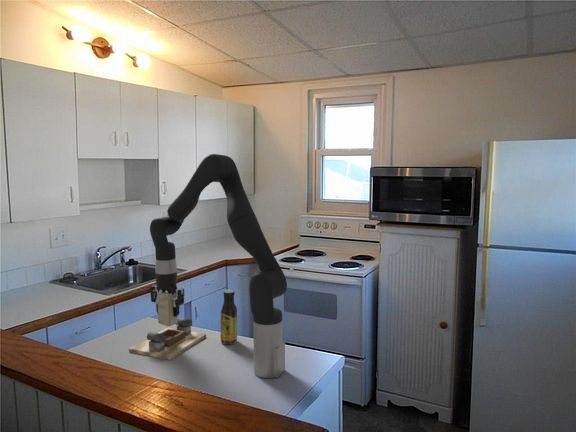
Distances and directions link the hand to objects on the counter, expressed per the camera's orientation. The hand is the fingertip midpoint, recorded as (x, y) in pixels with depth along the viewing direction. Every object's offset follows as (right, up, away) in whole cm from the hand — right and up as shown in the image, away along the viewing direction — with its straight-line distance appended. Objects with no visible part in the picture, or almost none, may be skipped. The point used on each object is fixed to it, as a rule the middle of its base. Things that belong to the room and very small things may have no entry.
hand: (167, 314), depth 166 cm
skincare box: (0, -4, 0) cm, 4 cm away
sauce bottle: (+22, -11, +3) cm, 25 cm away
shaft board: (0, -11, +1) cm, 11 cm away
